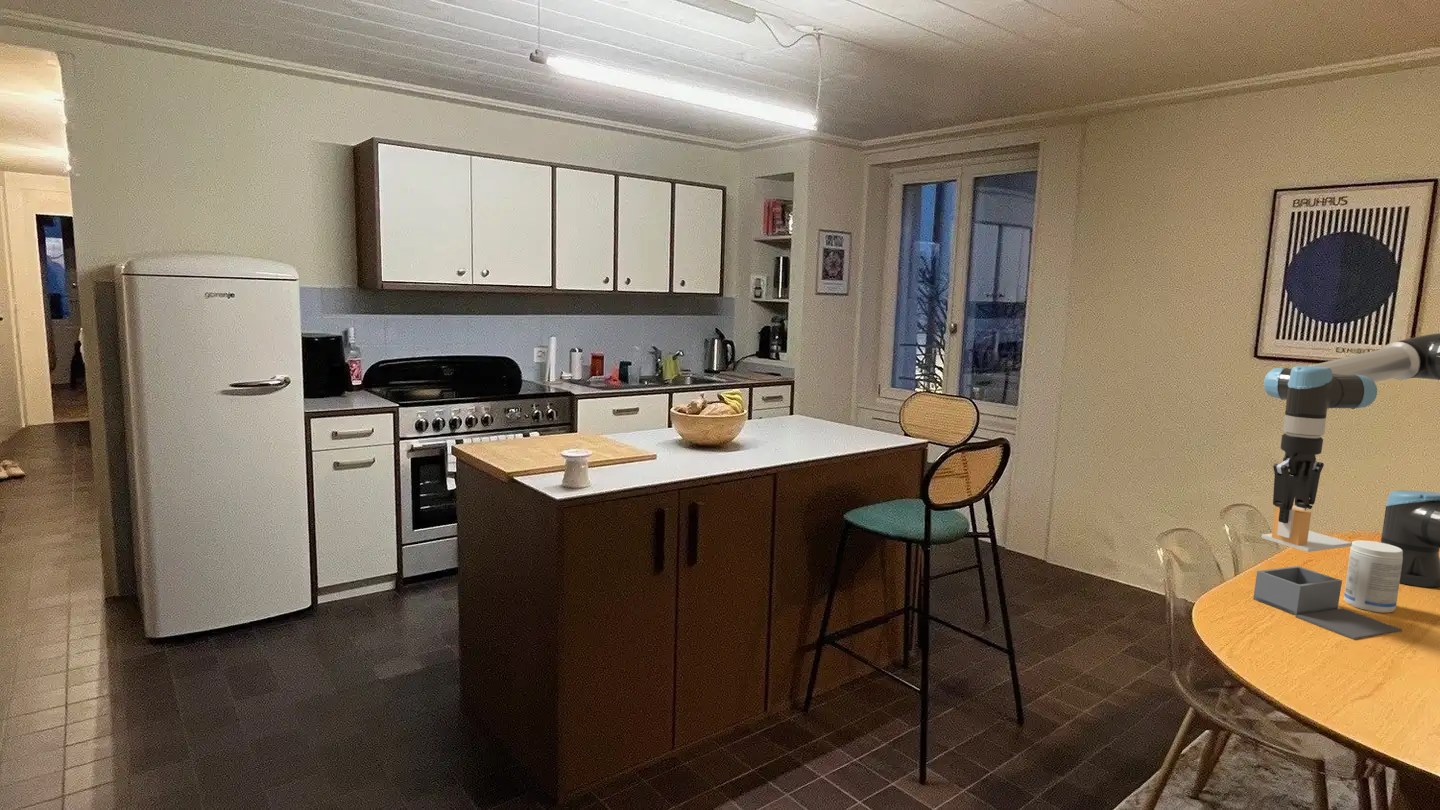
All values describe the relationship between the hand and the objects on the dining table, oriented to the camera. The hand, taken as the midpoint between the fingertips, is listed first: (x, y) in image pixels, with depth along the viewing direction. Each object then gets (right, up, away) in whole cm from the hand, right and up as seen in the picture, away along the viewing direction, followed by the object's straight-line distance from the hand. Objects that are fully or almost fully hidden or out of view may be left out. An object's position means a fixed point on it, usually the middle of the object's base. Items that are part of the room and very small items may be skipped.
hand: (1289, 535), depth 181 cm
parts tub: (+4, -17, +4) cm, 18 cm away
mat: (+8, -19, -6) cm, 21 cm away
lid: (+5, -2, +2) cm, 6 cm away
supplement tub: (+22, -18, +5) cm, 29 cm away
